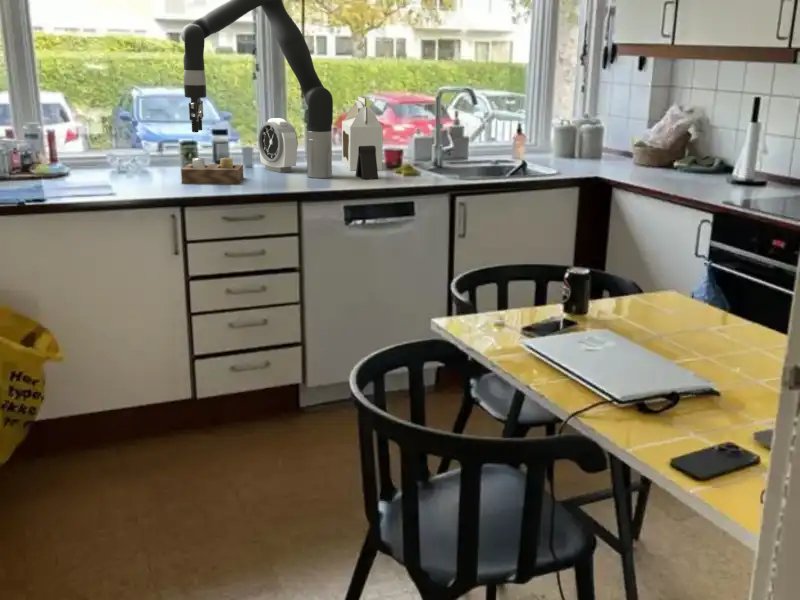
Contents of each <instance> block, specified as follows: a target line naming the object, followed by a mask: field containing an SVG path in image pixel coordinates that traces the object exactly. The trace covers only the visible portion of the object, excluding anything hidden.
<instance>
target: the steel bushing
mask: <svg viewBox="0 0 800 600" xmlns="http://www.w3.org/2000/svg"><path fill="white" fill-rule="evenodd" d="M191 159H192V160H191V161H192V163H191V164H192V165H193V168H205V164H206V161H205V159H206V158H205V157H192V158H191Z"/></svg>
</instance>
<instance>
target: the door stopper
mask: <svg viewBox="0 0 800 600" xmlns="http://www.w3.org/2000/svg"><path fill="white" fill-rule="evenodd" d="M378 171H379V170H377V161H376V147H375V146H359V148H358V161H357V168H356V171H355V177H356V178H359V179H361V180H365V181H366V180H379V172H378Z"/></svg>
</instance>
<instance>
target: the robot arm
mask: <svg viewBox="0 0 800 600" xmlns="http://www.w3.org/2000/svg"><path fill="white" fill-rule="evenodd" d="M258 7H261V9H262V11H263V13H264V14H265V16H266V17H267V20H268V21H269V24H270V26H271V29H272V31H273V34H274V36H275V38H276V40H277V43H278V45H279V47H280V49H281V52H282V54H283V56H284V58H285V60H286V62H287V63H288V65H289V67H290V70H292V72H293V74H294V76H295V77H296V79H297V82H298V84H299V86H300V88H301V91H302V95H303V97H304V100H305V103H306V105H307V122H306V152H307V153H306V155H307V156H306V157H307V158H306V159H307V160H306V163H307V165H306V166H307V169H306V171H307V174H306V175H307V177H308V178H314V179H315V178H316V179H325V178H332V177H333V150H332V149H333V145H332V144H333V143H332V141H333V139H332V131H333V129H332V128H333V127H332V125H333V121H334V119H333V115H334V100H333V99H334V98H333V95H332V93H331V91H330V90H329V89H327V88H325V87H324V85H323V84H322V81H321V80H320V78H319V76H318V74H317V71H316V69H315V66H314V63H313V62H314V61H313V59H312V56H311V55H312V54H311V51H310V48H309V47H308V45H307V42H306V39H305V38H304V35H303V33H302V31H301V29H300V28H299V27H298V25H297V24H296V23H295V21H294V20H293V19H292V17H291V16H290V15H289V12H287V10H286V8H285V5H284V3H283V0H228V1H227V2H224V3H222V4H220V5H219V6H217V7H216V8H213V9H212V10H210V11H209V12H207V13H205V15H203V16H202V17H200V18H197V19H196V20H193V21H192V22H190V23H187V24H186V25H184V26H183V27H182V30H181V32H180V37H181V39H182V41H183V43H184V55H183V88H184V89H183V90H184V91H183V93H184V97H185V98H189V99H190V102H189V103H188V115H189V121H190V122H191V133H199V132H200V131H203V118H204V104H203V103H204V102H203V101H204V100H202V99H203V98H204V99H205V98H207V82H206V81H207V80H206V72H205V57H204V55H205V54H204V53H205V40H206V39H207V38H208V37H209V36H212V35H213V34H216V33H218V32H220V31H222V30H223V29H225V28H227V27H229V26H230V25H232V24H233V23H234V22H236V21H237V20H239V19H241V18H242V17H243V16H245V15H246V14H248V13H249V12H251V11H252V10H255V9H256V8H258Z"/></svg>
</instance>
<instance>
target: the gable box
mask: <svg viewBox="0 0 800 600" xmlns="http://www.w3.org/2000/svg"><path fill="white" fill-rule="evenodd" d="M354 102H355V103H354V104H353V105H352V107H351V109H350V110H349V112H348V113H347V114H346V116H345V118H344V119H343V120H342V121H341V164H343V166H344V167H345V168H346V169H348V170H349V172H350V171H351V172H356V168H357V161H358V148H359V146H375V147H376V161H377V170H378V171H383V149H384V148H383V146H384V145H383V141H384V140H383V139H384V138H383V137H384V136H383V135H384V133H383V131H384V127H383V126H382V124H381V122H380V121H379V119H378V118H377V116H376V114H375V112H374V111H373V110H372V108H371V107H370V106H367V98H365V97H364V96H363V97H362V96H357V98H355V99H354Z"/></svg>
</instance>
